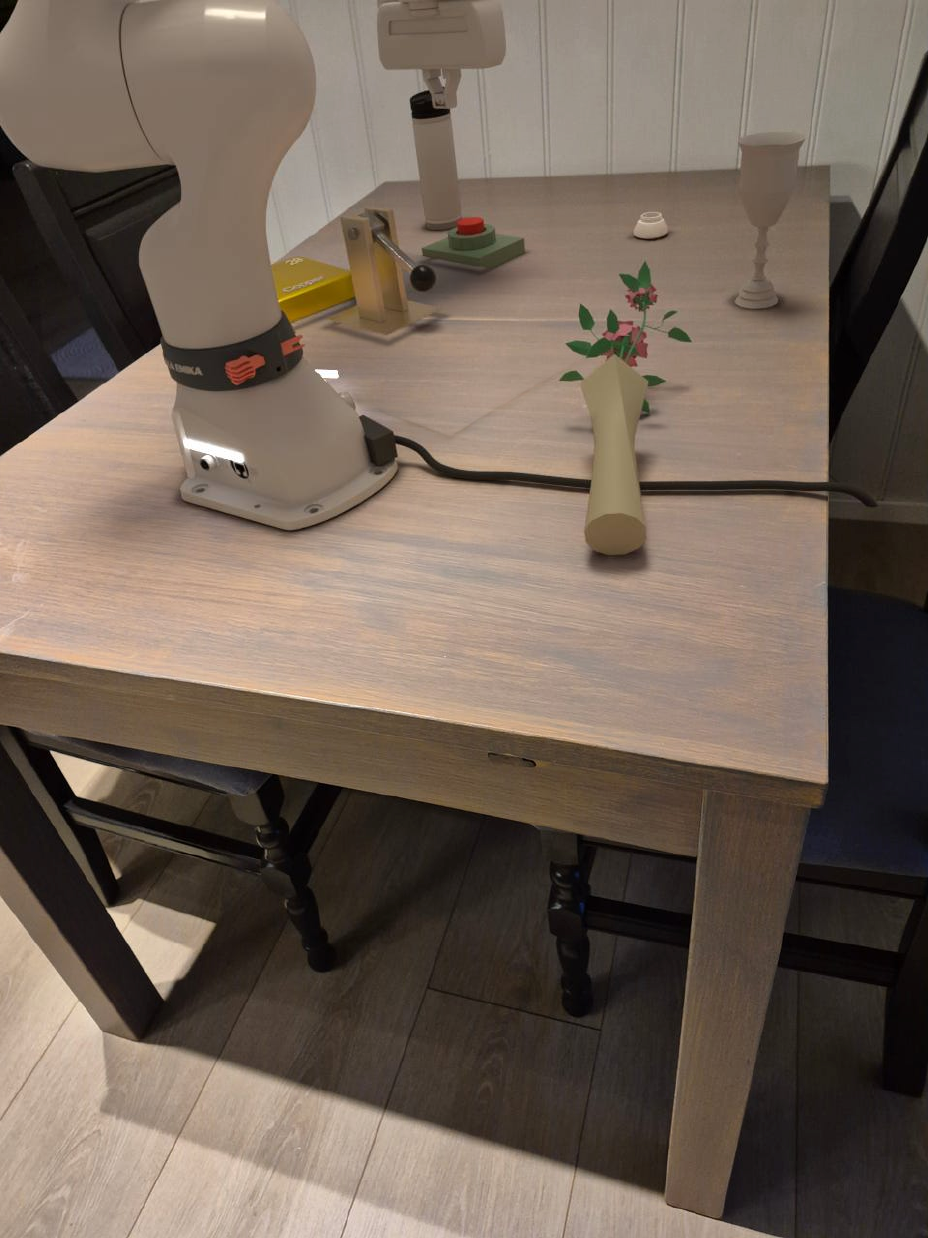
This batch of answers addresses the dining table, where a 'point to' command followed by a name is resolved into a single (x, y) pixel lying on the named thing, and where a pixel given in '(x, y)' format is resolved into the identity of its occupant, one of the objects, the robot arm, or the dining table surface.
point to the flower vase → (617, 420)
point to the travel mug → (436, 162)
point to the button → (470, 226)
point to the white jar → (650, 226)
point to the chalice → (766, 199)
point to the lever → (401, 256)
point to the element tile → (310, 286)
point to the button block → (476, 248)
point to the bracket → (377, 279)
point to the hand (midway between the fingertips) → (445, 107)
